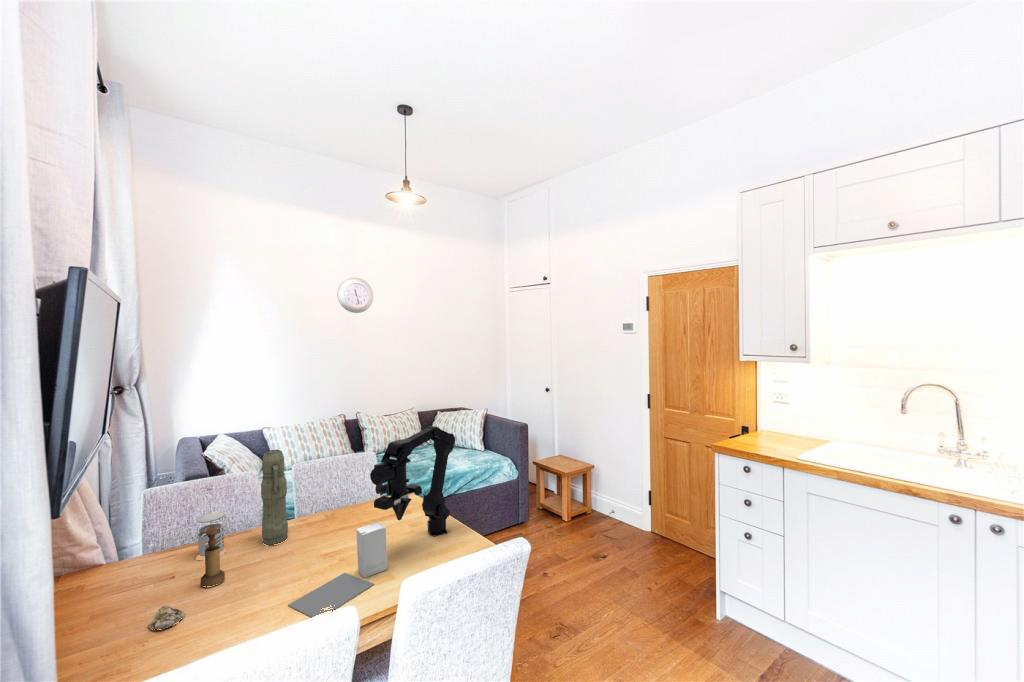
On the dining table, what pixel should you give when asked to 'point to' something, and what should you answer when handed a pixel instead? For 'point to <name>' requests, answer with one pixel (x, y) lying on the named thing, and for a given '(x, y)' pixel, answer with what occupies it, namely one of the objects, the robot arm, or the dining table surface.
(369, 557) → the skincare box
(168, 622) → the mineral rock
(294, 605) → the mat
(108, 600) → the dining table surface
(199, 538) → the french press
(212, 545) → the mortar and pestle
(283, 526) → the thermos
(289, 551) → the dining table surface
